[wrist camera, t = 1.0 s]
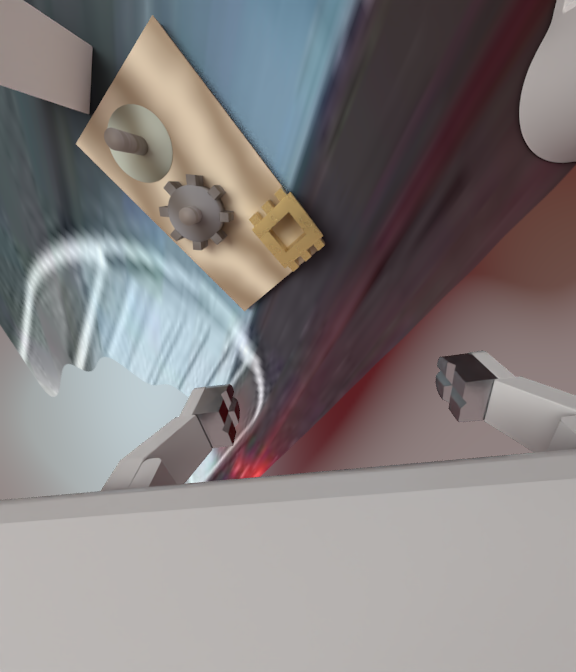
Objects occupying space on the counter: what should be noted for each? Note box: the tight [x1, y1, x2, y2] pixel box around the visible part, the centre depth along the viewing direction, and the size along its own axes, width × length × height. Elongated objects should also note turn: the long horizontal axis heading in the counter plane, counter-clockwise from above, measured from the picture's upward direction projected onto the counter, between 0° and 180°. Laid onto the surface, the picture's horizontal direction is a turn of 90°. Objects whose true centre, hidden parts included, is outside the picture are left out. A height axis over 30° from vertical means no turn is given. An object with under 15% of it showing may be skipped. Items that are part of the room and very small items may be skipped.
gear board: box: [76, 15, 325, 311], centre depth 31 cm, size 15×27×6 cm, turn 41°
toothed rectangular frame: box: [249, 187, 325, 271], centre depth 32 cm, size 6×8×3 cm
